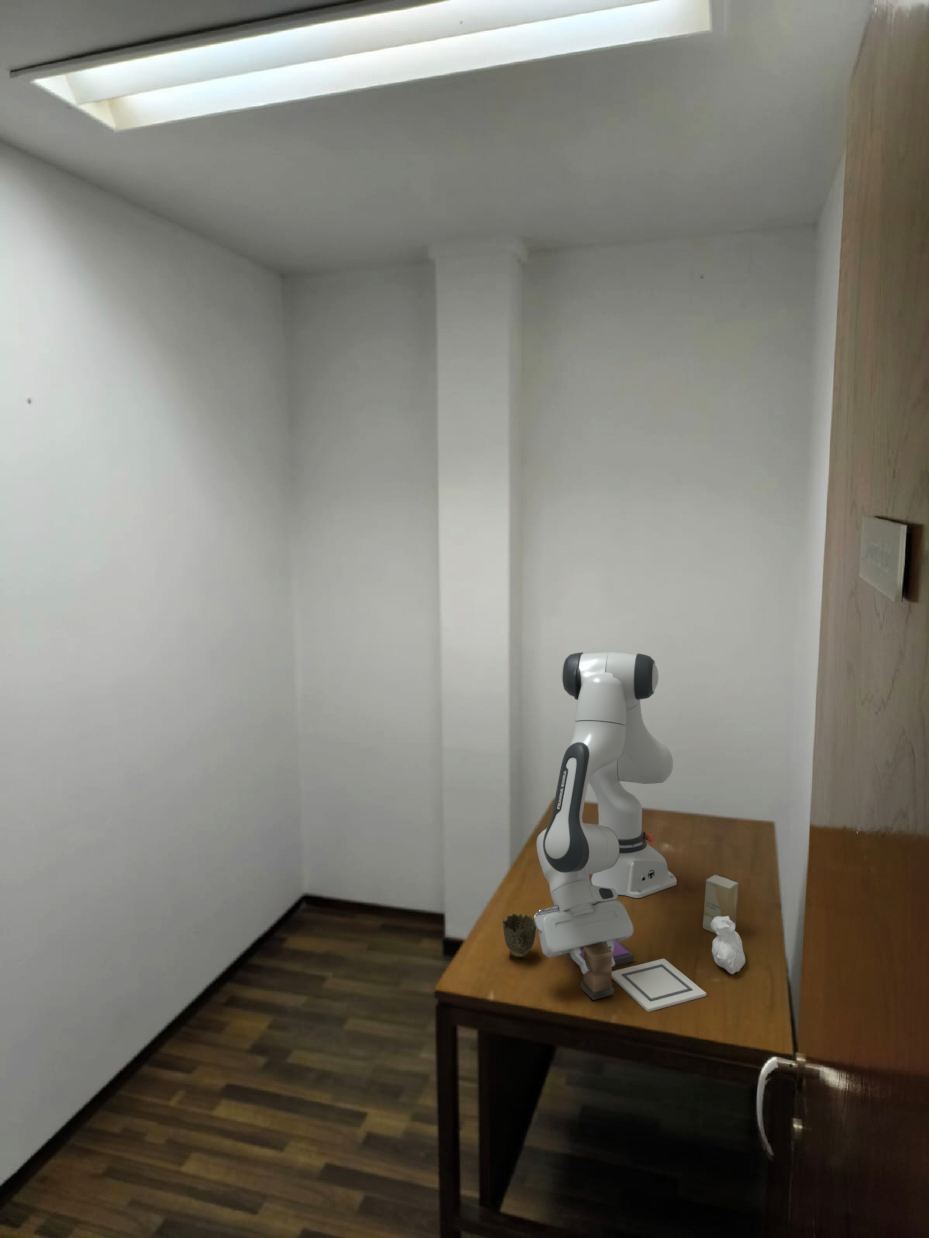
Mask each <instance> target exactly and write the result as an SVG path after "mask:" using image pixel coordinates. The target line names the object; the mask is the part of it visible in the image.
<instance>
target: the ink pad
mask: <svg viewBox="0 0 929 1238" xmlns="http://www.w3.org/2000/svg"><path fill="white" fill-rule="evenodd" d="M613 944H614V951H613V959H614V961H615V965H614V966H613V967H615V966H620V965H623V964H628V963H631V962H635V954H634V953H632V952H631V951H630V949H628V948H626V947H625V946H624V944H622V943H621V941H617V942H613ZM580 951H581V954H580V956H581V957H582V958H583V959H584V950H580ZM566 955H567V956H568V957H569V958H570V959H572V957H571V955H570V953H566ZM578 967H580V965H578Z"/></svg>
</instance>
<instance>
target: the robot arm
mask: <svg viewBox="0 0 929 1238" xmlns="http://www.w3.org/2000/svg"><path fill="white" fill-rule="evenodd" d="M561 682H562V686H563V689H564V691H565V692H566V693H567V694H568V695H569V696H571V697H573V698H574V700H576V701H577V704H576V710H575V717H574V728H573V734H572V737H571V738H572V739H571V741H570V744H569V747H568V748H566V750H565V752H564V755H563V758H562V762H561V764H560V765H561V766H560V769H559V773H558V779H557V780H558V781H557V785H556V791H555V796H554V801H553V807H552V813H551V817H550V820H549V821H548V825H547V827H546V828H545V829H543V830H542V831H541V833H539V834H538V836H537V838H536V851H537V856H538V860H539V863H540V867H541V870H542V874H543V876H544V877H545V878H546V880H547V883H548V885H549V893H550V897H551V900H552V902H553V906H551V907H548V908H541V909H539V910H537V912H536V913H535V914H534V917H533V918H534V922H535V925H536V931H538V938H539V942H540V946H541V951H542V953H543V955H545V956H546V958H550V959H551V958H553V957H558V956H562V955H567V953H570V955H571V957H572V958H571V957H570V958H571V959H572V961H573V962H575V963H576V965H578V966H579V965H580V966H579V968H580V970H581V973H582V975H584V974H585V973H589V972H591V971H592V968H591V966H590V962H589V961H588V962H585V960H584V959H583V958H582V957H581V956H580V954H581V951H580V950H583V947H584V946H588V945H592V944H597V943H601V942H603V943H604V944H605V945H606V946H607V947H608V948H609V949H611V950H612V951H614V944H613V942H617V941H618V942H622V941H625V940H627V939H629V938H630V937H631V936H633V934H634V929H635V928H634V925H633V922H632V920H631V918H630V915H629V913H628V911H627V910H626V907H625V906H624V905H623V903H622V902H620V901H619V900H617V898H618V896H619V895H620V896H626V897H627V896H628V897H630V898H635V899H641V898H643V897H647V896H649V895H652V894H655V893H657V892H660V891H662V890H665V889H668V888H671V887H674V886H677V884H678V883H677V882H678V881H677V878H676V877H675V875H674V874H673V873H672V872H671V871H670V870H669V869H668V863H667V860H666V859H665V857H664V856H663V854H661V853H660V852H658V851H657V850H656V849H654V847H652V846H650V844H648V843H647V842H649V843H653V842H655V840H656V838H655V837H656V836H654V834H651V833H650V832H647V833H646V831H645V830H642V827H643V826H642V825H643V823H642V822H643V807H642V804H641V802H640V800H639V799H638V798H637V797H636V796H635V795H634V794H633V793H631V792H629V791H627V790H626V789H625V788H624V786H622V783H621V782H626V783H631V784H632V783H634V784H640V785H650V784H651V785H652V784H655V785H656V784H662V783H664V782H666V781H667V780H668V778H670V777H671V776H670V775H671V774H672V771H673V768H674V759H673V755H672V752H671V751H670V750H669V748H668V747H667V746H666V745H665V744H663V743H661V742H660V741H659V740H658V739H656V738H655V737H654V736H653V735H652V733H650V731H649V730H648V729H647V727H646V726H645V723H644V720H643V715H642V707H641V700H646V699H649V698H651V696H653V695H654V693H655V690H656V688H657V687H658V683H659V671H658V666H657V665H656V661H655V660H654V659H653V658H652V657H651V656H650V655H646V654H643V653H639V652H638V653H637V654H634V653H631V652H630V653H628V652H619V651H607V652H606V651H605V652H604V651H601V652H600V651H599V652H588V653H587V652H585V653H584V652H575V653H571V654H568V656H567V657H566V658H565V659H564V662H563V665H562V669H561ZM588 785H590V787H591V789H592V791H593V792H594V795H595V797H596V801H597V802H596V803H597V811H598V824H594V823H584V822H583V815H584V814H583V813H584V807H585V803H586V802H585V800H586V795H587V790H588ZM591 875H592V876H591ZM590 876H591V880H590ZM614 965H615V961H614V959H613V956H612V967H615V966H614Z"/></svg>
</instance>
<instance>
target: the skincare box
mask: <svg viewBox="0 0 929 1238" xmlns="http://www.w3.org/2000/svg"><path fill="white" fill-rule="evenodd" d="M738 895H739V882H737V881H734V880H731V879H729V878H726V877H722V876H721V875H720V876H719V875H717V874H713V875H711V876H710V877H708V878H707V879H706V880H705V889H704V907H703V918H702V919H703V921H702V928H703V929H705V930H706V931H709V932H711V933H714V934H715V935H717V933H716V932H715V931H714V930H712V928H711V922H712V920H713V919H714V917H717V916H721V917H724V916H725V917H726V916H729V919H730V920H731V921H732V922H733V923H735V925H736V922H737V909H738V908H737V907H738ZM734 931H735V932H736V929H735V930H734Z"/></svg>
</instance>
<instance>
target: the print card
mask: <svg viewBox="0 0 929 1238" xmlns="http://www.w3.org/2000/svg"><path fill="white" fill-rule="evenodd" d="M611 979H612V980H613V981H614V982H616V984H618V985H619V986H620V987H621V988H622V989H623V990H624V991H625V992H626V993H627V994H628V995H629V996H630V997H631V998H632V999H633V1000H635V1001H636V1002H637V1003H638V1004H639V1005H640V1006H641V1007H642V1008H643V1009H644V1010H645V1011H646V1012H647V1013H650V1012H653V1011H656V1010H660V1009H664V1008H667V1007H671V1006H674V1005H678V1004H682V1003H687V1002H690V1001H693V1000H697V999H699V998H700V999H701V998H704V997H707V992H705V991H704V990H703V989H702V988H700V987H699V986H698V985H697V984H696V983H694V982H693V981H692V980H691V979H690V978H688V977H687V976H686V975H685V974H684V973H683V972H681V971H680V970H678V969H677V967H675V966H674V965H672V963H670V962H669V961H667V960H666V958H661V959H656V960H652V961H649V962H645V963H641V964H636V965H632V966H628V967H625V968H620V969H616V970H613V971H612V973H611Z"/></svg>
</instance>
